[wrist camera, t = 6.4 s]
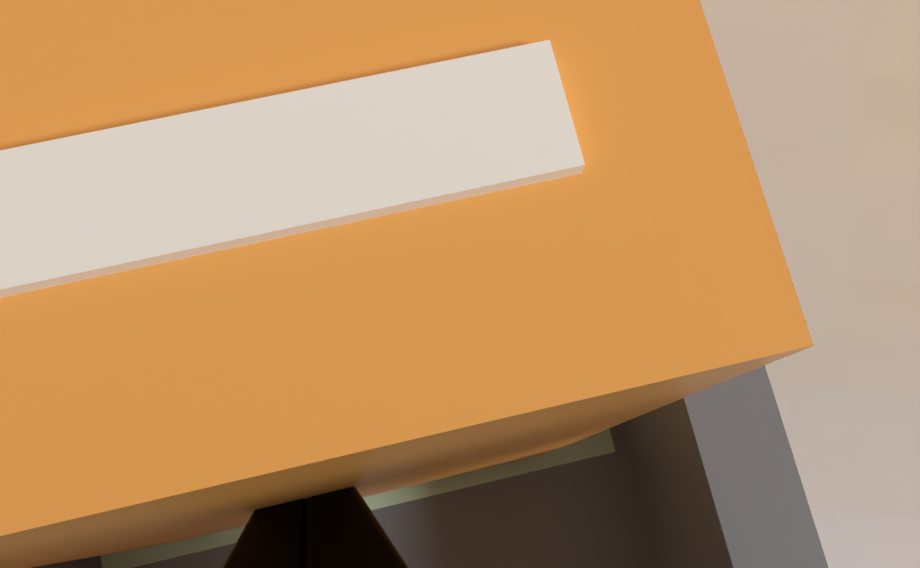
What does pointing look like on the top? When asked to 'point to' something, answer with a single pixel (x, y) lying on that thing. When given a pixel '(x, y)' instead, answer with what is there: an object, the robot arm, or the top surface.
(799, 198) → the top surface
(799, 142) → the top surface
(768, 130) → the top surface
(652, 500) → the base
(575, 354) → the breaker toggle
